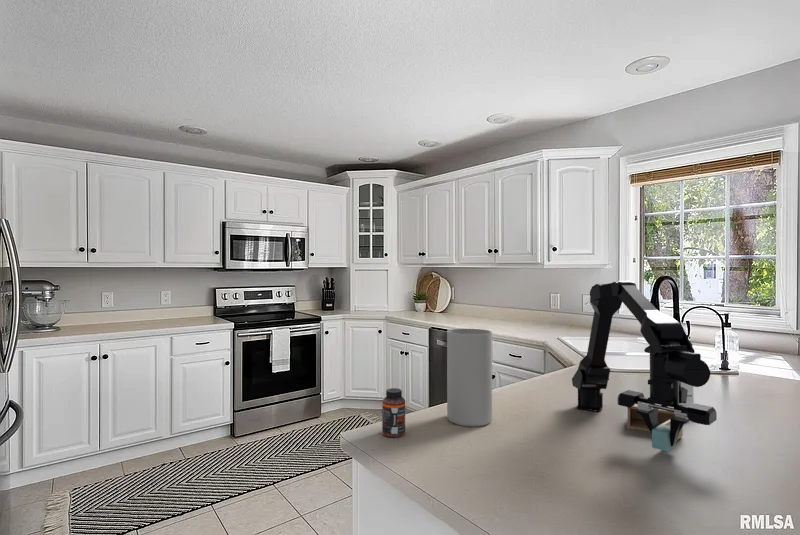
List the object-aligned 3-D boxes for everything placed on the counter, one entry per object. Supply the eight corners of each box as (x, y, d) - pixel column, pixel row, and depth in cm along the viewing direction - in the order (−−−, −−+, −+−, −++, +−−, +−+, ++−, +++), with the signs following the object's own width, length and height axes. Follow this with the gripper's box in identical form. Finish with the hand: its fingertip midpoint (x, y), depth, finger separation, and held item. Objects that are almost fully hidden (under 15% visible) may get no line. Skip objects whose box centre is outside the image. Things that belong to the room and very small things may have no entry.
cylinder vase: (460, 410, 131) (459, 327, 131) (499, 418, 123) (498, 330, 124) (439, 421, 120) (439, 332, 121) (480, 431, 113) (480, 335, 114)
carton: (627, 428, 115) (627, 405, 115) (628, 419, 122) (628, 398, 122) (681, 436, 109) (680, 412, 109) (679, 426, 116) (679, 404, 116)
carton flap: (666, 458, 96) (666, 433, 96) (652, 453, 98) (651, 429, 98) (693, 439, 107) (693, 416, 107) (679, 435, 109) (679, 413, 109)
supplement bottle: (400, 439, 107) (400, 394, 107) (378, 436, 109) (378, 391, 110) (408, 431, 113) (408, 388, 113) (387, 428, 115) (387, 386, 115)
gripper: (723, 377, 97) (724, 447, 97) (635, 364, 111) (636, 424, 111) (708, 385, 90) (708, 461, 90) (616, 370, 104) (616, 435, 104)
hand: (664, 443), depth 99 cm, fingers closed on carton flap, 3 cm apart
